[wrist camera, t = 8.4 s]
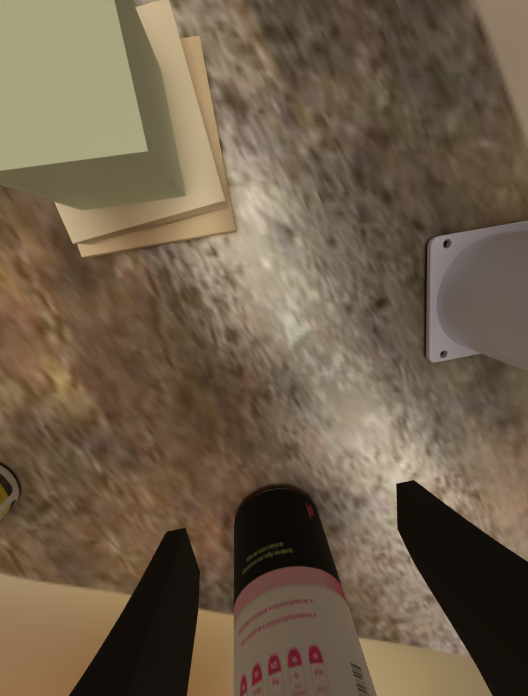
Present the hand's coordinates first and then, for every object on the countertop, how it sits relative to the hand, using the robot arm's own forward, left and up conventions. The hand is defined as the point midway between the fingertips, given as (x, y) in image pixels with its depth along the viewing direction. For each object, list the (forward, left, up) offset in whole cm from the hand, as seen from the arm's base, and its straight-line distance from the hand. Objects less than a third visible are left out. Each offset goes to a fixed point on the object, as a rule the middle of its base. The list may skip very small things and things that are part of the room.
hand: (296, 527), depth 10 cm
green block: (+4, -14, -7) cm, 16 cm away
